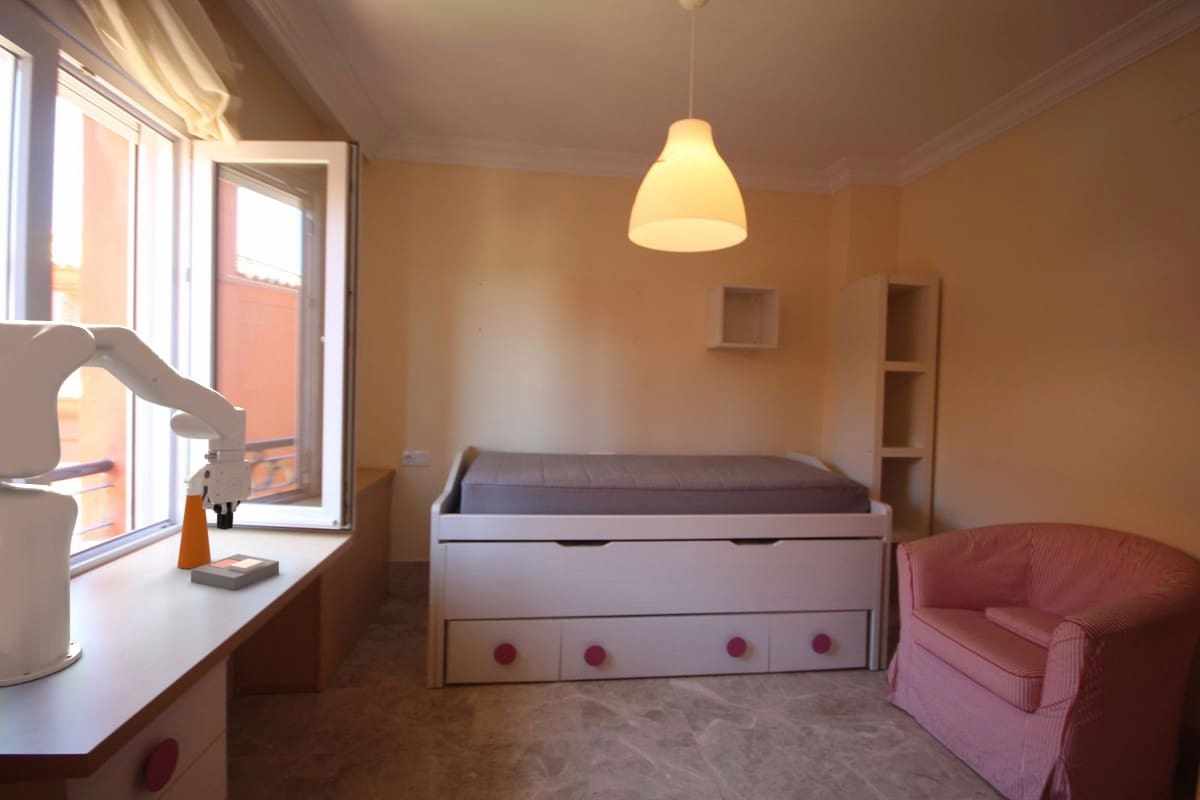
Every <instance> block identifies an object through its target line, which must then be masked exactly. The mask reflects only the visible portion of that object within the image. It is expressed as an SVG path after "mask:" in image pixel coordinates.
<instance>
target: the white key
mask: <svg viewBox="0 0 1200 800" xmlns="http://www.w3.org/2000/svg"><path fill="white" fill-rule="evenodd" d="M262 566H264V561H259V560H254V559H246V560H243V561H240V562H237V563H234V564H231V565H230V570H233V571H238V572H243V573H246V572H249V571H251V570H254V569H257V568H259V567H262Z"/></svg>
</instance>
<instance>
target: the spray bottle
mask: <svg viewBox="0 0 1200 800" xmlns="http://www.w3.org/2000/svg"><path fill="white" fill-rule="evenodd" d="M205 465H206V463H203V464H201V465H200V466H199V467H197V468H196V469H194V470H193V471H192V472H190V473H189V474H188V475H187V476H186V477H185V478H184V480H183V482H184V483H185V484H188V485H187V487H186V498H185V504H184V513H183V519H182V528H181V535H180V542H179V543H180V544H179V550H178V551H179V552H178V557H177V558H178V559H177V568H178V569H179V568H180V569H184V570H185V569H187V570H188V569H189V570H190V569H194V568H197V567H200V566H203V565H206V564H209V563H212V556H211V548H210V537H209V530H208V521H207V520H208V519H207V511H206V510H207V509H203V508H202V505H203V501H202V500H201V485H202V477H203V472H204V468H205Z"/></svg>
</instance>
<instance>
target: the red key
mask: <svg viewBox="0 0 1200 800" xmlns="http://www.w3.org/2000/svg"><path fill="white" fill-rule="evenodd" d="M237 562H240V561H237V560H232V559H226V560H223V561H220V562H217V563H214V564H211V565H209V566H212V567H217V568H222V569H224V568H227V567H230V565H231V564H234V563H237Z"/></svg>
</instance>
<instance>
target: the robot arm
mask: <svg viewBox="0 0 1200 800" xmlns="http://www.w3.org/2000/svg"><path fill="white" fill-rule="evenodd" d="M81 367H90V368H101V369H104V370H106V371H107V372H108V373H110V375H112V376H113V377H114V378H115V379H116V380H118V381H119V382H120V383H122V384H123V385H124V386H125V387H126V388H128V389H129V390H130V392H133V394H134V395H136V396H137V398H140V399H142V400H143V401H146V402H149V403H152V404H155V405H157V406H160V407H164V408H168V409H173V410H176V412H175V413H174V414H173V415H172V416H171V418H170V422H169V426H170V428H171V430H172V432H173V433H175V434H176V435H177V436H179V437H181V438H184V439H191V440H208V449H207V450H208V451H207V453H205V454H204V457H203V458H204V459H205V460H207V462H205V464H206V465H205V468H204V472H203V477H202V485H201V500H202V501H203V505H202V508H203V509H206V510H212V511H213V512H214V513H215V514H216V527H217V529H219V530H225V531H226V530H228V529H229V530H230V529H233V525H234V524H233V523H234V513H236V511H237V508H238V507H239V506H240V504H243V503H245V502H246V501H247V500H248V498H250V497H251V495H252V473H251V468H250V464H249V463H250V462H249V460H248V459H246V437H247V435H246V434H247V411H246V410H245V409H244V408H241V407H235V406H234V405H233V404H232V403H231V402H230V401H229V400H228V399H227V398H226V397H225V396H223V394H221V393H220V392H218V391H216V390H214V389H213V388H211V387H209V386H207V385H204V384H203V383H201V382H199V381H197V380H196V379H194V378H191V377H189V376H187V375H185V374H182V373H181V372H180V371H178V370H177V369H176V368H175V367H174V366H173V365H172V364H171V363H170V362H168V360H166V359H165V357H163V356H162V355H161V354H160V353H159V352H158V351H157V350H156V349H155V348H154V347H153V346H152V345H151V344H150V343H149V342H148V341H147V340H146V339H144V337H142V336H141V335H140V334H139V333H138V332H137V331H135V330H134V329H132V328H130V327H126V326H121V325H116V324H115V325H114V324H113V325H112V324H89V323H71V322H70V323H69V322H64V321H63V322H62V321H46V320H11V319H10V320H9V319H7V320H0V687H5V686H12V685H18V684H21V683H27V682H31V681H34V680H37V679H41V678H43V677H47V676H49V675H52V674H54V673H56V672H59V671H60V670H63V669H64V668H67V667H69V666H71V665H72V664H73V663H75V662H76V661H77V660H79V659H80V658H81V656H82V655H83V645H82V644H81V643H78V642H76V641H71V550H72V548H71V547H72V540H73V536H74V535H73V534H74V531H75V527H76V525H77V524H76V523H77V520H78V516H79V507H78V503H77V501H76V499H75V498H74V497H73V495H72V494H71V493H69V492H68V491H66V490H64V489H61V488H59V487H55V486H51V485H45V484H44V485H43V484H29V483H13V479H14V480H15V479H16V480H26V479H27V480H28V479H29V480H30V479H37V478H41V477H45V476H46V475H48V474H50V473H52V472H53V471H54V470H55V469H56V468H57V467H58V465H59V463H60V461H61V456H62V455H61V454H62V447H61V435H60V425H59V424H60V423H59V413H58V398H59V397H58V396H59V392H60V391H61V388H62V386H63V384H64V383H65V382H66V380H67V379H68V378H69V377H70V376H71V375H72V374H73V373H75V372H76V371H77V370H78V369H80V368H81Z"/></svg>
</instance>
